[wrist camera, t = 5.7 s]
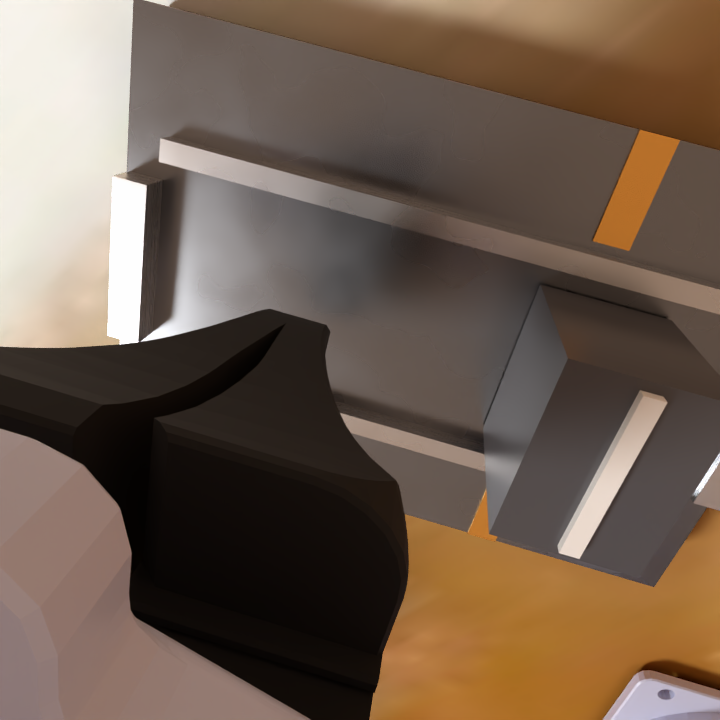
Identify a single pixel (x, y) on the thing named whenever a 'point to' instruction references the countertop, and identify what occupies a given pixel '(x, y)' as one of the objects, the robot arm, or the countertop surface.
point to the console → (397, 234)
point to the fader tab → (598, 432)
